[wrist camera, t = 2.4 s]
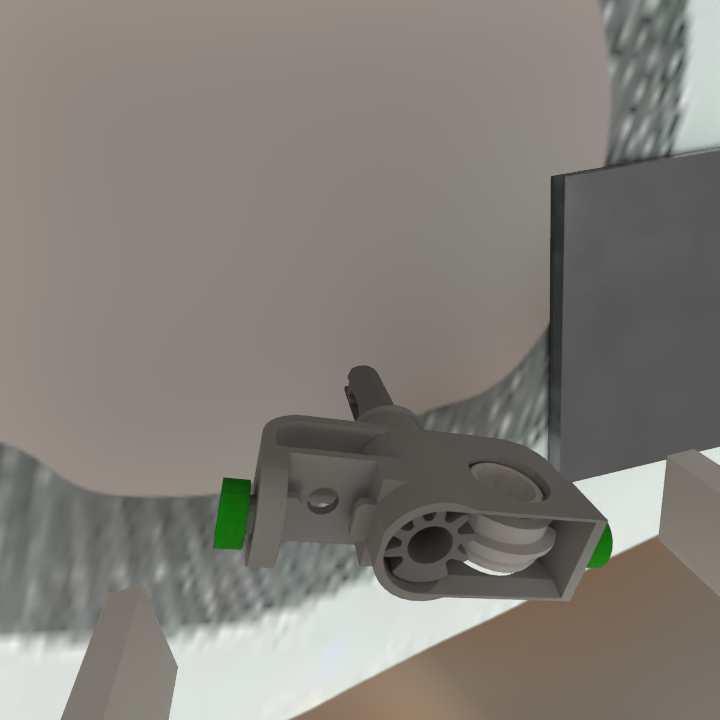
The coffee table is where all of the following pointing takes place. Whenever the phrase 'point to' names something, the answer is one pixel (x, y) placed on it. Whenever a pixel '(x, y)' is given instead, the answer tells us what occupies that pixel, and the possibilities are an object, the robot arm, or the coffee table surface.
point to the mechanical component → (415, 504)
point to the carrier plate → (634, 313)
